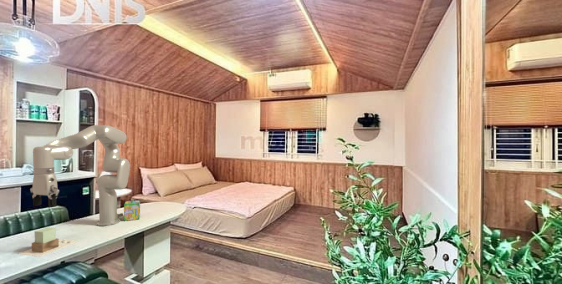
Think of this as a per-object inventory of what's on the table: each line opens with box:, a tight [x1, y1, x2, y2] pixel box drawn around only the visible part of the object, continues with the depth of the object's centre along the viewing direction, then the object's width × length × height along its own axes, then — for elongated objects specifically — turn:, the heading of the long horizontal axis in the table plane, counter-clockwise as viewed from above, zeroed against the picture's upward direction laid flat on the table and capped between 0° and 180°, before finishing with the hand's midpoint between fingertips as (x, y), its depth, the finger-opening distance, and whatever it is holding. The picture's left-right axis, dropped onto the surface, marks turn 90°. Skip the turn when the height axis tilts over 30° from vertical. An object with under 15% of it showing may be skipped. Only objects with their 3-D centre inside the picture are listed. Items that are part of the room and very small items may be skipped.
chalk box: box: [123, 196, 141, 222], centre depth 173 cm, size 9×9×15 cm
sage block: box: [34, 226, 57, 244], centre depth 124 cm, size 6×6×6 cm
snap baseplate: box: [17, 238, 80, 258], centre depth 126 cm, size 18×14×2 cm
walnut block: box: [31, 237, 60, 253], centre depth 124 cm, size 7×7×4 cm
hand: (44, 206), depth 124 cm, fingers open, 9 cm apart
